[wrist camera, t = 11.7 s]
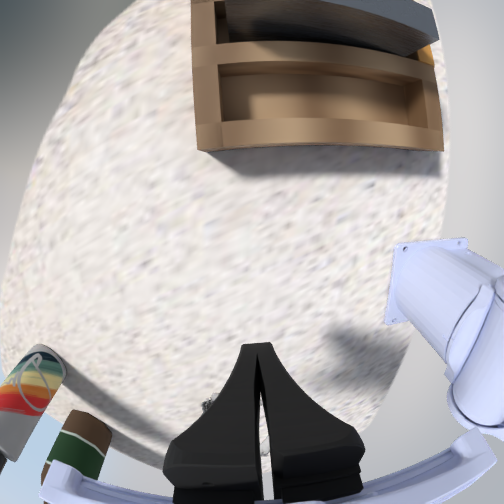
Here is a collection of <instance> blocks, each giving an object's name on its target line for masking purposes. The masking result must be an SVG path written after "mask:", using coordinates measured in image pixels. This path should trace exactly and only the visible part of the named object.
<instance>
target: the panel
mask: <svg viewBox="0 0 504 504" xmlns="http://www.w3.org/2000/svg"><path fill="white" fill-rule="evenodd" d="M225 9H226V17H227V25H228V33H229V42H230V43H236V42H253V41H300V42H316V43H327V44H337V45H344V46H352V47H358V48H364V49H369V50H375V51H380V52H384V53H389V54H393V55H397V56H401V57H406V56H408V55H410V54H412V53H414V52H415V51H417V50H419V49H421V48H423V47H425V46H427V45H429V44H432V43H434V42H436V41H438V40H439V35H438V31H437V27H436V23H435V20H434V16H433V12H432V9H430V8H428V7H426V6H423V5H421V4H419V3H417V2H415V1H413V0H225Z"/></svg>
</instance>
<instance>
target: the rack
mask: <svg viewBox="0 0 504 504" xmlns="http://www.w3.org/2000/svg"><path fill="white" fill-rule="evenodd" d="M413 1H414V0H413ZM191 47H192V74H193V93H194V110H195V124H196V137H197V150H200V151H204V152H211V151H220V150H231V149H242V148H256V147H273V146H301V145H339V146H367V147H384V148H396V149H407V150H417V151H444V142H443V128H442V118H441V109H440V102H439V95H438V88H437V83H436V77H435V72H434V60H433V56H432V52H431V48H430V44H429V45H427V46H425V47H423V48H421V49H419V50H417V51H415V52H414V53H412V54H410V55H408V56H406V57H401V56H397V55H393V54H389V53H384V52H380V51H375V50H369V49H364V48H358V47H352V46H344V45H337V44H327V43H316V42H300V41H253V42H236V43H230V42H229V33H228V25H227V17H226V9H225V0H191Z"/></svg>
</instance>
